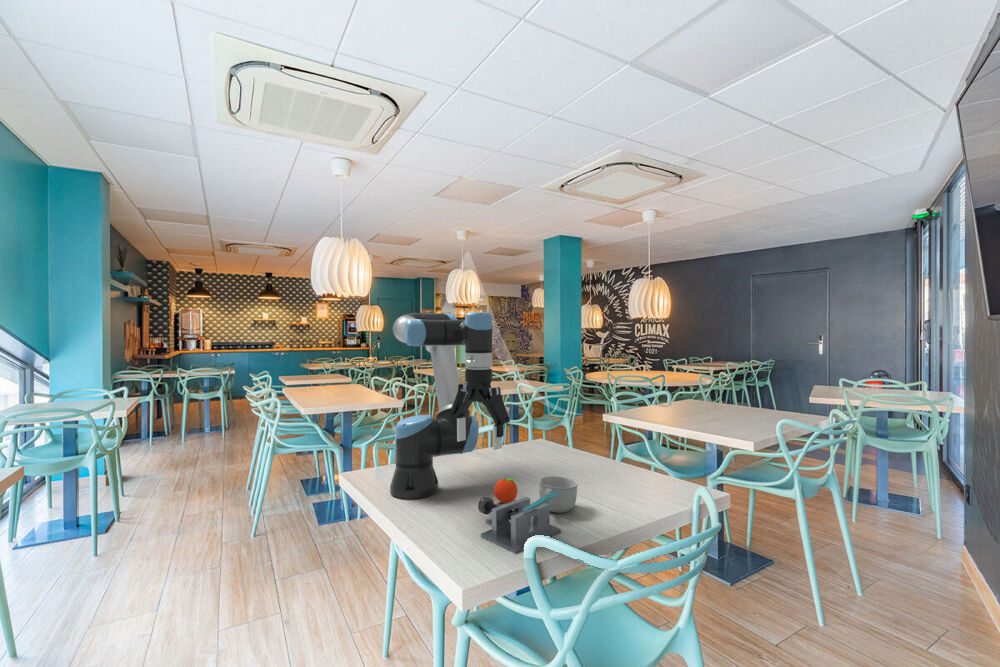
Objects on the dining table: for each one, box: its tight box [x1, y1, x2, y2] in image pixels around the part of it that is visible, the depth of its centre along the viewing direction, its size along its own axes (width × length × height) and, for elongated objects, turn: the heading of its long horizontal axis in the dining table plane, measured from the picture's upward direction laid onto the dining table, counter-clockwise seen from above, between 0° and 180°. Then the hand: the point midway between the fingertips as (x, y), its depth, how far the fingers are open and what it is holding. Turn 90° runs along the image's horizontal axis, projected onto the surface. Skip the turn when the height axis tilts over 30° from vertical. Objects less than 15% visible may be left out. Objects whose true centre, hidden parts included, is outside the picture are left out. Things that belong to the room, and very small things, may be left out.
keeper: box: [523, 491, 559, 512], centre depth 108 cm, size 9×5×1 cm
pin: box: [477, 495, 518, 521], centre depth 118 cm, size 13×4×4 cm, turn 43°
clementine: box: [493, 477, 518, 504], centre depth 135 cm, size 8×7×7 cm
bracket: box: [480, 496, 562, 554], centre depth 113 cm, size 12×16×7 cm
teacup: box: [538, 475, 579, 514], centre depth 128 cm, size 14×11×8 cm
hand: (478, 444), depth 127 cm, fingers open, 13 cm apart
